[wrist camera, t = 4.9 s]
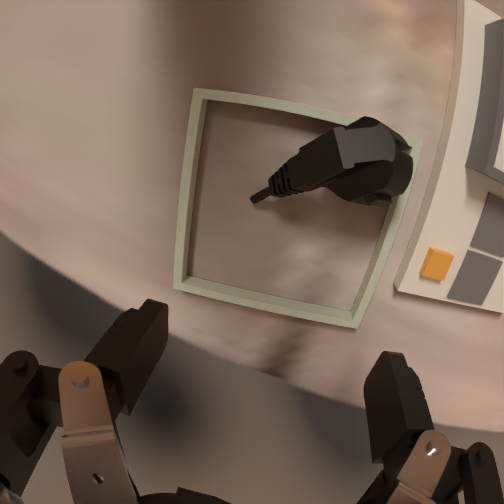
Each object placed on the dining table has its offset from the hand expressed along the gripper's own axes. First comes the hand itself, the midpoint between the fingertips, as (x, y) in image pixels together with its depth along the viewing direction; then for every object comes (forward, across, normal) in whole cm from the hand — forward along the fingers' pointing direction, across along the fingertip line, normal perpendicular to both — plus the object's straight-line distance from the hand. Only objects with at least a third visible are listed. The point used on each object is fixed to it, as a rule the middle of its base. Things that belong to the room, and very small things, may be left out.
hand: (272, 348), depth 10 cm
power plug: (+17, +1, 0) cm, 17 cm away
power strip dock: (+16, -19, -10) cm, 27 cm away
